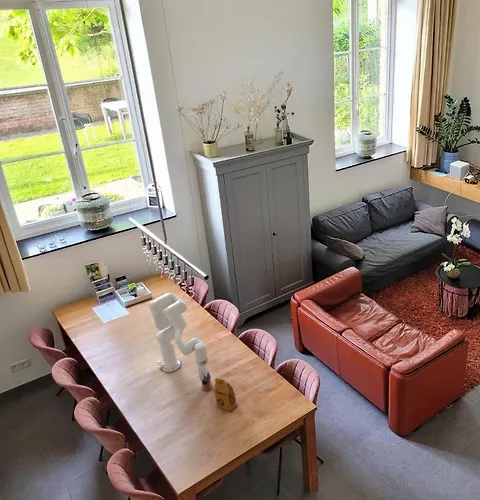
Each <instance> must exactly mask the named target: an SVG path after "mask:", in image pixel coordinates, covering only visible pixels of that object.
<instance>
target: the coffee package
mask: <svg viewBox="0 0 480 500" xmlns="http://www.w3.org/2000/svg"><path fill="white" fill-rule="evenodd" d="M214 381H215V382H214V388H213V393H214V398H215V403H216V407H217V408H219V409H222V410H224V411H227V412H232V411H233V410H234V409H235V408H236V407H237V399H236V398H237V397H236V393H235V390H234V388H233V387H232V385H231V384H230V383H229V382H227V380H225V379H224V378H219V377H215V379H214Z"/></svg>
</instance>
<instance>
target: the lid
mask: <svg viewBox="0 0 480 500" xmlns="http://www.w3.org/2000/svg"><path fill="white" fill-rule="evenodd" d="M199 378H200V379H199V380H200V382H202V380H201V377H199ZM204 379H205V377H204ZM210 379H212V378H211V374H210V373H209V374H207V376H206V380H207V381H209V380H210Z"/></svg>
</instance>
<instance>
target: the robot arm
mask: <svg viewBox="0 0 480 500" xmlns="http://www.w3.org/2000/svg"><path fill="white" fill-rule="evenodd" d="M147 307H148V310H149V312H150V313H151V315H152V319H153V323H154V326H155V328H156V330H157V331H158V332H157V333H156V335H155V339H156V341H157V344H158V346H159V350H160V353H161V358H162V360H158V361H157V365H158V366H159V367H161V369H162V370H163V372H165V373H172V372H174V371H177V370H178V369H180V367H181V361H180V360H179V359H178V357H177V352H176V348H175V345H176V347H177V349H178V350H179V352H180V353H181V354H182V355H183V356H185V357H186V356H189V355H190V354H192V353H193V352H194V357H195V361H196V364H197V372H198V377H199V378H200V377H201V380H202V381H201V380H200V381H201V385H202V384H203V385H207V380H206V376H207V374H210V372H209V369H210V367H209V355H208V351H207V345H206V344H205V343H203V342H202V341H201V339H200V338H198V337H192V338H191V339H190V340H188V341H186V342H185V343H183V341H182V334H183V332H184V330H185V329H186V327H187V326H188V322H187V321H186V319H185V318H184V316H183V314H184V313H185V312H187V310H188V306H187V304H186V302H185V301H184V300H183V299H182V298H180V297H179V296H178V295H176V294H175V293H173V292H167V293H165V294H163V295H161V296H158V297H157V298H155V299H153V300H151V301H149V302H148V304H147ZM172 340H174V342H175V344H174V342H172ZM204 377H205V379H204Z"/></svg>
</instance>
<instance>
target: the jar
mask: <svg viewBox="0 0 480 500" xmlns="http://www.w3.org/2000/svg"><path fill="white" fill-rule="evenodd" d="M211 379H212V378H211ZM211 379H210V380H209V381H207V385H203V384H202V383H201V386H202V390H203V391H204V392H209V391H210V390H212V388H213V386H212V380H211Z"/></svg>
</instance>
